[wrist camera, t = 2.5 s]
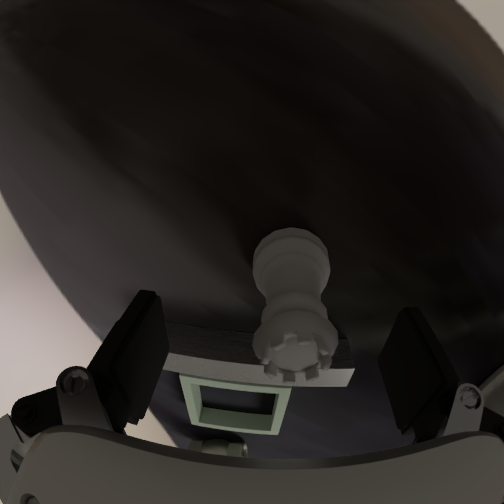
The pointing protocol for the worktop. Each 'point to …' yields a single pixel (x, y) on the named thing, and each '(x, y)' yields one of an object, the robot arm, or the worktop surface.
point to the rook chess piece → (293, 305)
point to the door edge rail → (241, 358)
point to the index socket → (231, 418)
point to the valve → (219, 447)
